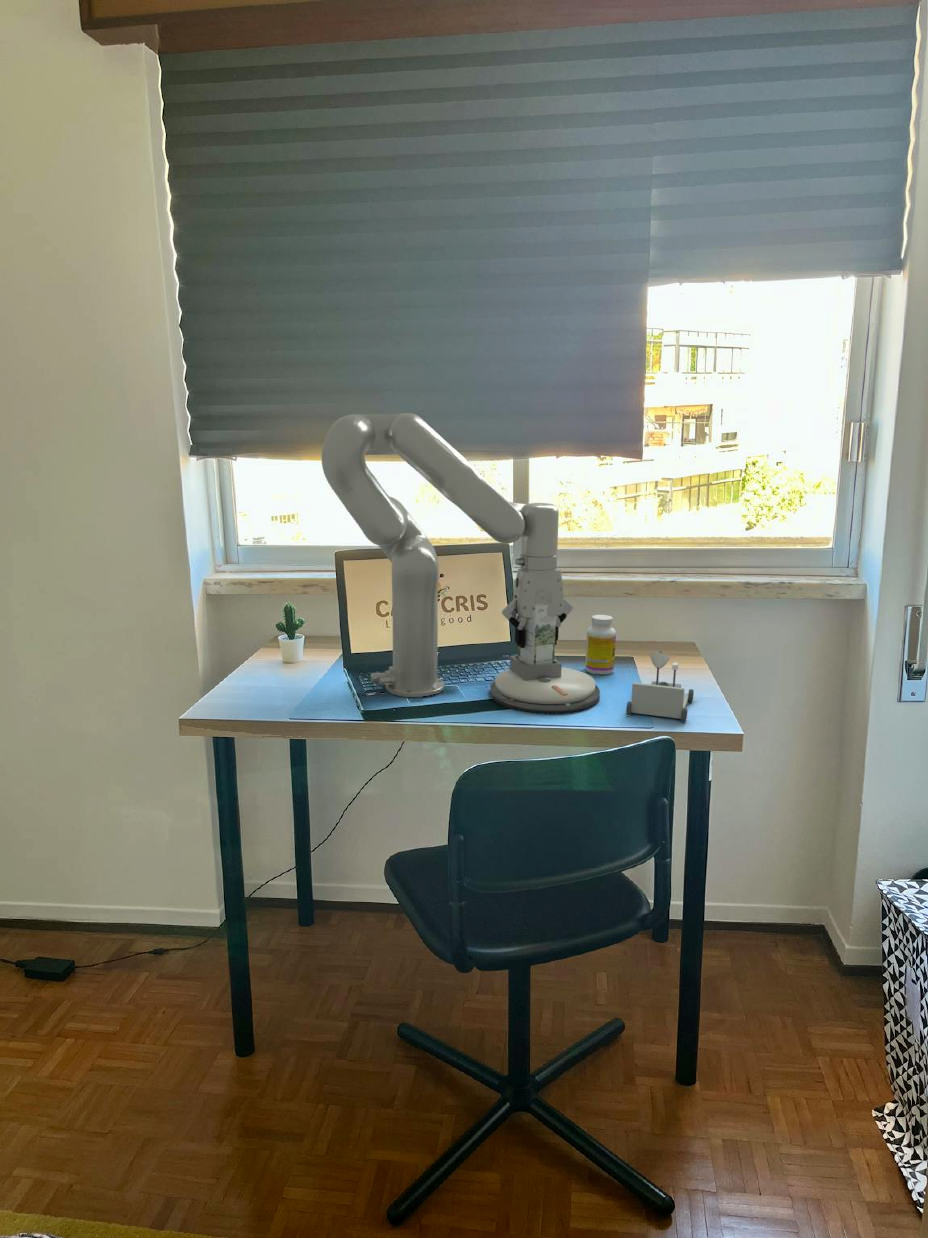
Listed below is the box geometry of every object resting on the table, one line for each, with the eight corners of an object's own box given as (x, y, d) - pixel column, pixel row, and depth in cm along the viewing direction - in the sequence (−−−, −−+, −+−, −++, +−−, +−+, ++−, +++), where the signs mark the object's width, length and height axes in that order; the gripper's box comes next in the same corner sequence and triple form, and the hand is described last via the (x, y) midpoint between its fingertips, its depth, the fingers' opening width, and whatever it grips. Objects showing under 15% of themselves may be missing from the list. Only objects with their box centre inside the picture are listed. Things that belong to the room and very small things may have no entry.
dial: (612, 698, 185) (614, 677, 183) (517, 708, 178) (518, 686, 177) (568, 668, 204) (569, 649, 203) (481, 676, 197) (481, 657, 196)
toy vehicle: (642, 647, 194) (697, 653, 190) (639, 691, 196) (694, 697, 193) (628, 671, 178) (688, 677, 174) (625, 718, 180) (685, 725, 176)
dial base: (514, 719, 177) (514, 710, 177) (475, 683, 198) (475, 675, 198) (619, 707, 184) (619, 699, 184) (570, 674, 206) (571, 666, 205)
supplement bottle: (615, 676, 205) (619, 621, 202) (586, 675, 205) (589, 620, 202) (611, 667, 212) (614, 613, 208) (583, 666, 212) (585, 613, 208)
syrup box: (538, 660, 199) (540, 595, 195) (555, 666, 194) (557, 601, 190) (517, 664, 196) (518, 598, 192) (533, 671, 191) (535, 604, 187)
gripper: (506, 568, 183) (505, 653, 188) (584, 563, 189) (580, 646, 193) (493, 561, 190) (492, 643, 195) (568, 557, 196) (566, 637, 200)
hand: (536, 644), depth 194 cm, fingers closed on syrup box, 6 cm apart
